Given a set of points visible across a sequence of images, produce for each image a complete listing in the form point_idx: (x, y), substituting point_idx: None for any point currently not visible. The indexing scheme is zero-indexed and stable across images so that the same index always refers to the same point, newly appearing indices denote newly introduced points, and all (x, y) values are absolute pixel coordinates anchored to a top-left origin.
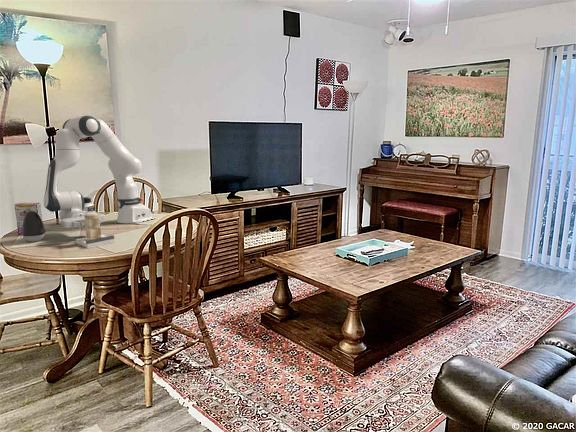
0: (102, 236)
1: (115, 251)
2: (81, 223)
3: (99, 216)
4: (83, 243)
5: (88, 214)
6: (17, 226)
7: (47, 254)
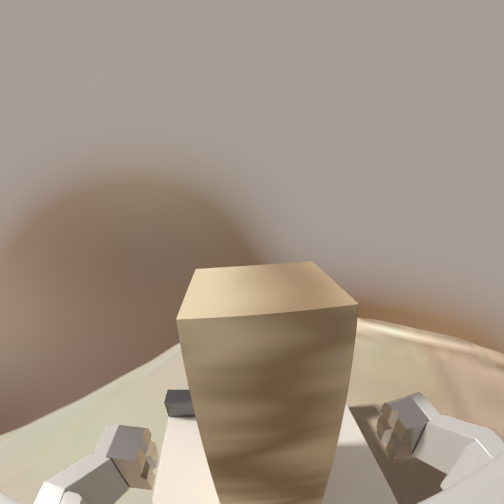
0: (183, 497)
1: None
2: (389, 403)
3: (11, 497)
4: (357, 432)
5: (293, 303)
6: None
7: (494, 381)
